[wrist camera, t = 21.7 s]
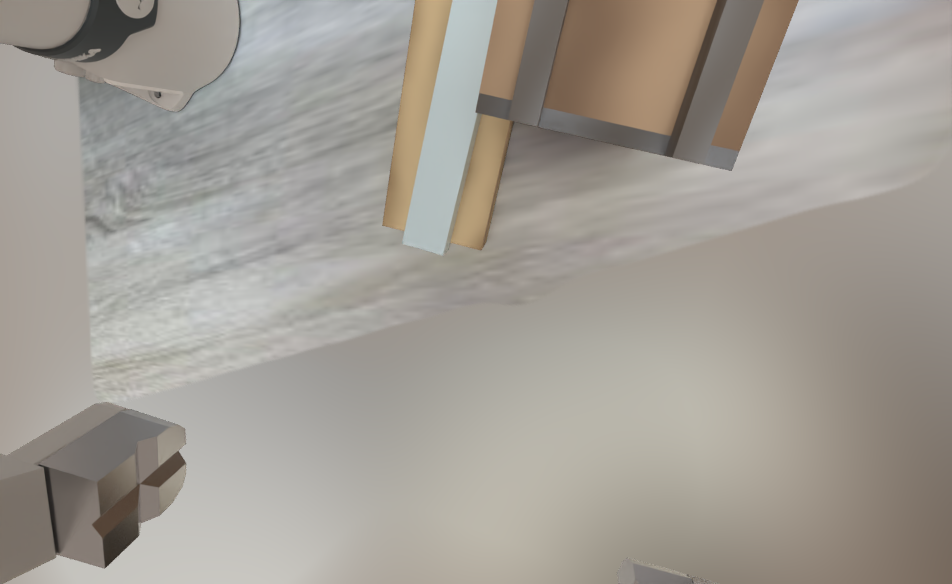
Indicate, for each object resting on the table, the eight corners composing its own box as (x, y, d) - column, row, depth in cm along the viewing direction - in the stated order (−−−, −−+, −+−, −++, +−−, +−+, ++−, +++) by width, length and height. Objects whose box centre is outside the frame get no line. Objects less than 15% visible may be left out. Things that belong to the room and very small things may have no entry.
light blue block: (409, 237, 47) (401, 243, 44) (463, -17, 39) (457, -26, 37) (448, 249, 46) (442, 255, 44) (510, -5, 39) (507, -13, 36)
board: (393, 219, 50) (382, 225, 47) (434, -47, 42) (424, -62, 38) (486, 242, 49) (481, 250, 46) (546, -24, 41) (545, -38, 38)
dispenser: (518, 122, 45) (469, 111, 19) (552, -23, 41) (546, -287, 15) (634, 149, 44) (745, 173, 18) (680, 3, 40) (907, -229, 14)
